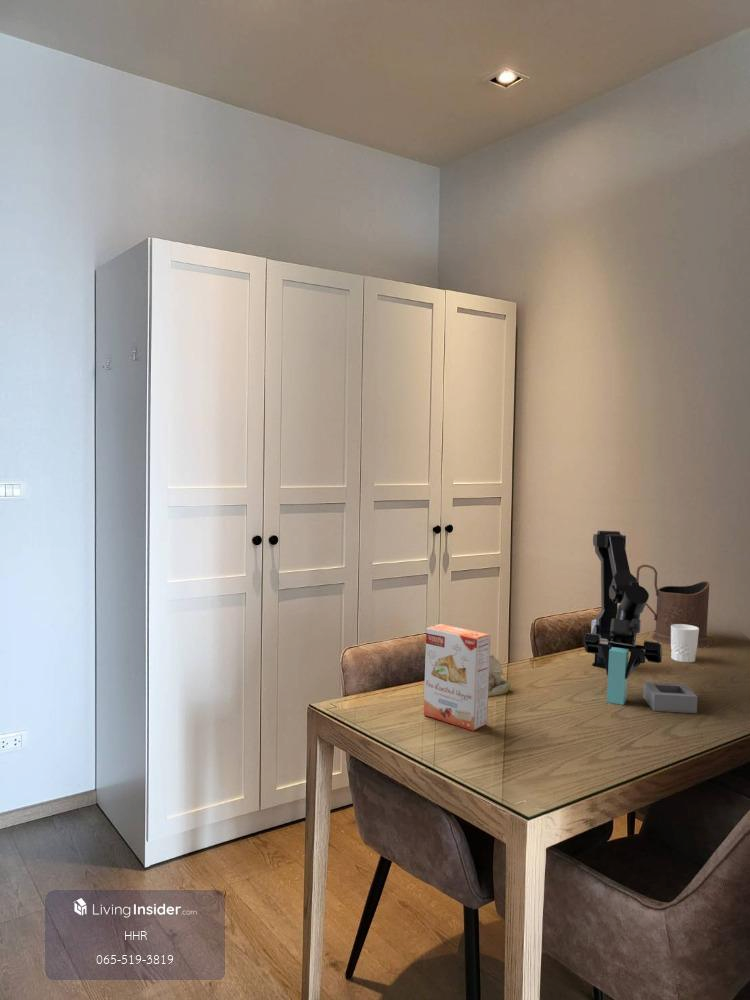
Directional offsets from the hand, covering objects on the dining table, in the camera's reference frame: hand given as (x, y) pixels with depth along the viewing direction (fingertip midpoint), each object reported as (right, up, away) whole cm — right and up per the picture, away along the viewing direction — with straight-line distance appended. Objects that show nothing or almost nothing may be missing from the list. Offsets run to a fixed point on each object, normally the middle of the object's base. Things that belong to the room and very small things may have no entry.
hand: (616, 676), depth 189 cm
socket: (+13, -7, 0) cm, 15 cm away
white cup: (+34, -5, +43) cm, 55 cm away
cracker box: (-42, -7, -15) cm, 45 cm away
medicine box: (+13, -3, +57) cm, 59 cm away
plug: (0, -7, +2) cm, 7 cm away
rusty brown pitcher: (+39, -4, +66) cm, 77 cm away
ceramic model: (-33, -6, +8) cm, 34 cm away
